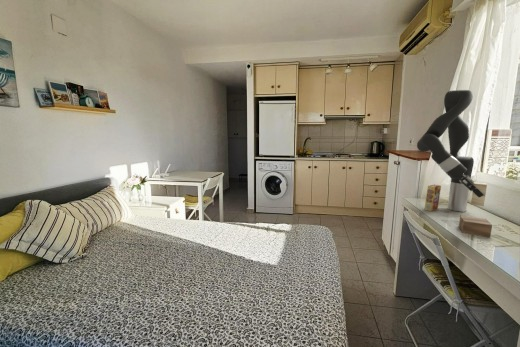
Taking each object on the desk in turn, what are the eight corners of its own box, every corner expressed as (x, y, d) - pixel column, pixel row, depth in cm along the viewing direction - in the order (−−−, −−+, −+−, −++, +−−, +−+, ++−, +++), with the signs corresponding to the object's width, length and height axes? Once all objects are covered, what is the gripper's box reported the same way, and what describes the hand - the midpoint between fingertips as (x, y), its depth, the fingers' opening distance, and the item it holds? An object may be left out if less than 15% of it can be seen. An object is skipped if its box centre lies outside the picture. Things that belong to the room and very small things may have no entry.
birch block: (471, 202, 121) (474, 182, 119) (483, 204, 118) (486, 183, 117) (470, 204, 118) (474, 183, 116) (483, 206, 115) (486, 185, 113)
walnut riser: (458, 226, 127) (460, 215, 126) (484, 230, 122) (486, 218, 121) (462, 233, 118) (464, 221, 117) (490, 237, 113) (492, 225, 112)
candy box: (432, 211, 151) (434, 186, 149) (424, 209, 155) (426, 185, 152) (438, 209, 156) (441, 185, 154) (430, 207, 159) (433, 184, 157)
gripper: (459, 163, 115) (490, 193, 109) (460, 161, 126) (489, 188, 120) (443, 173, 119) (473, 202, 113) (446, 170, 130) (473, 197, 124)
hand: (481, 195), depth 117 cm, fingers closed on birch block, 4 cm apart
